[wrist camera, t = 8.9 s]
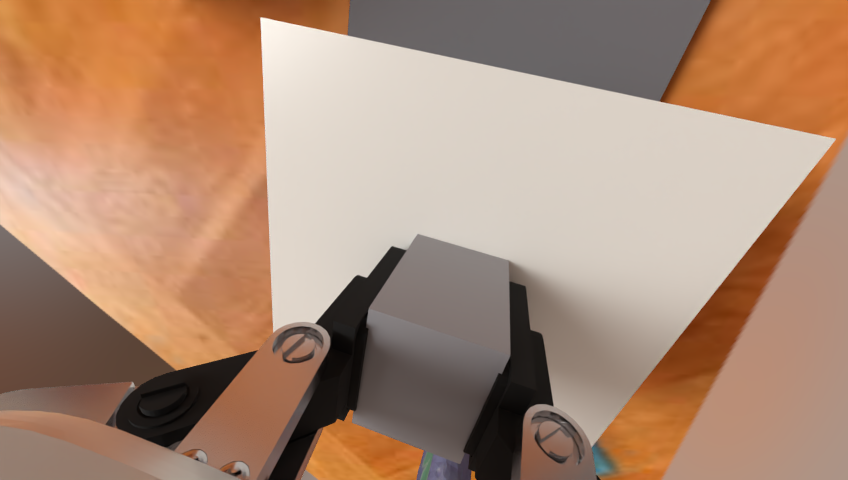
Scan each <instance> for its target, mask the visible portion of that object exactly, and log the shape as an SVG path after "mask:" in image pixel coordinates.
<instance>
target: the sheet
mask: <svg viewBox="0 0 848 480" xmlns="http://www.w3.org/2000/svg"><path fill="white" fill-rule="evenodd" d="M261 40H262V65H263V89H264V114H265V139H266V163H267V188H268V212H269V237H270V261H271V286H272V310H273V333H274V332H275V331H276V330H277V329H279V328H281V327H283V326H285V325H288V324H291V323H295V322H309V323H314V324H315V323H316V322H317V320H318V319H319V318H320V317H321V316H322V315H323V313H324V312H325V311H326V310H327V309H328V308H329V306H330V305H331V304H332V303H333V302H334V300H335V299H336V298H337V297H338V296H339V295H340V293H341V292H342V291H343V290H344V289H345V288H346V286H347V285H348V284H349V283H350V282H351V281H352V279H353V278H354V277H355V276H356V275H360V276H363V277H366V278H367V277H368V276H369V274H370V273H371V272H372V271H373V269H374V268H375V267H376V265H377V264H378V263H379V262H380V260H381V259H382V258H383V256H384V255H385V254H386V253H387V251H388V250H389V249H390V247H391V246H394V247H397V248H401V249H404V250H407V251H406V252H405V254H404V255H403V257H402V258H401V260H400V261H399V263H398V265H397V266H396V268H395V269H394V271H393V272H392V274H391V275H390V277H389V278H388V280H387V281H386V283H385V284H384V286H383V287H382V289H381V290H380V292H379V293H378V295H377V297H376V298H375V300H374V301H373V303H372V304H371V306H370V307H369V310H368V317H367V324H366V328H368V329H369V330H368V337H367V343H366V350H365V356H364V363H363V370H362V376H361V383H360V389H359V396H358V402H357V409H356V411H354V412H353V419H352V423H355V424H357V425H360V426H362V427H365V428H367V429H370V430H373V431H375V432H378V433H380V434H383V435H386V436H388V437H391V438H393V439H396V440H399V441H401V442H404V443H406V444H409V445H412V446H414V447H417V448H419V449H422V450H424V451H427V452H430V453H432V454H435V455H437V456H440V457H443V458H445V459H448V460H450V461H453V462H456V463H458V464H460V463H461V461H462V459H463V456H464V454H465V453H464V452H463V450H464V448H465V445H466V443H467V441H468V439H469V437H470V434H471V432H472V430H473V428H474V426H475V424H476V421H477V419H478V417H479V415H480V413H481V410H482V408H483V406H484V404H485V402H486V399H487V397H488V395H489V393H490V391H491V388H492V386H493V384H494V382H495V380H496V377H497V375H498V373H500V374H502V372H503V370H504V368H505V366H506V364H507V362H508V360H509V357H510V301H509V281H510V282H514V283H517V284H520V285H524V286H526V292H527V302H528V311H529V321H530V330H533V331H536V332H539V333H541V334H542V336H543V340H544V346H545V353H546V359H547V366H548V372H549V378H550V385H551V391H552V398H553V404H554V407H556V408H558V409H560V410H562V411H563V412H565V413H566V414H568V415H569V416H570V417H571V418H572V419H574V420H575V421H576V422H577V424H578V425H579V426H580V427H581V428H582V429H583V431H584V433H585V434H586V436H587V438H588V440H589V442H590V445H591V447H592V446H593V445H594V443H595V442H596V441H597V440H598V438H599V437H600V436H601V435H602V433H603V432H604V431H605V430H606V428H607V427H608V426H609V425H610V423H611V422H612V421H613V420H614V418H615V417H616V416H617V414H618V413H619V412H620V411H621V409H622V408H623V407H624V406H625V404H626V403H627V402H628V401H629V399H630V398H631V397H632V396H633V394H634V393H635V392H636V391H637V389H638V388H639V387H640V386H641V384H642V383H643V382H644V380H645V379H646V378H647V377H648V375H649V374H650V373H651V372H652V370H653V369H654V368H655V367H656V365H657V364H658V363H659V362H660V360H661V359H662V358H663V357H664V355H665V354H666V353H667V352H668V350H669V349H670V348H671V346H672V345H673V344H674V343H675V341H676V340H677V339H678V338H679V336H680V335H681V334H682V333H683V331H684V330H685V329H686V328H687V326H688V325H689V324H690V323H691V321H692V320H693V319H694V318H695V316H696V315H697V314H698V312H699V311H700V310H701V309H702V307H703V306H704V305H705V304H706V302H707V301H708V300H709V299H710V297H711V296H712V295H713V294H714V292H715V291H716V290H717V289H718V287H719V286H720V285H721V284H722V282H723V281H724V280H725V278H726V277H727V276H728V275H729V273H730V272H731V271H732V270H733V268H734V267H735V266H736V265H737V263H738V262H739V261H740V260H741V258H742V257H743V256H744V255H745V253H746V252H747V251H748V250H749V248H750V247H751V246H752V244H753V243H754V242H755V241H756V239H757V238H758V237H759V236H760V234H761V233H762V232H763V231H764V229H765V228H766V227H767V226H768V224H769V223H770V222H771V221H772V219H773V218H774V217H775V216H776V214H777V213H778V212H779V210H780V209H781V208H782V207H783V205H784V204H785V203H786V202H787V200H788V199H789V198H790V197H791V195H792V194H793V193H794V192H795V190H796V189H797V188H798V187H799V185H800V184H801V183H802V181H803V180H804V179H805V178H806V176H807V175H808V174H809V173H810V171H811V170H812V169H813V168H814V166H815V165H816V164H817V163H818V161H819V160H820V159H821V158H822V156H823V155H824V154H825V153H826V151H827V150H828V149H829V147H830V146H831V145H832V144H833V142H834V141H835V140H836V139H834V138H829V137H824V136H820V135H815V134H810V133H805V132H801V131H796V130H791V129H787V128H782V127H777V126H772V125H768V124H763V123H758V122H753V121H749V120H744V119H739V118H735V117H730V116H725V115H720V114H716V113H711V112H706V111H701V110H697V109H692V108H687V107H683V106H678V105H673V104H668V103H664V102H659V101H654V100H649V99H645V98H640V97H635V96H631V95H626V94H621V93H616V92H612V91H607V90H602V89H597V88H593V87H588V86H583V85H579V84H574V83H569V82H564V81H560V80H555V79H550V78H545V77H541V76H536V75H531V74H527V73H522V72H517V71H512V70H508V69H503V68H498V67H493V66H489V65H484V64H479V63H475V62H470V61H465V60H460V59H456V58H451V57H446V56H441V55H437V54H432V53H427V52H423V51H418V50H413V49H408V48H404V47H399V46H394V45H389V44H385V43H380V42H375V41H371V40H366V39H361V38H356V37H352V36H347V35H342V34H337V33H333V32H328V31H323V30H319V29H314V28H309V27H304V26H300V25H295V24H290V23H285V22H281V21H276V20H271V19H267V18H262V17H261Z"/></svg>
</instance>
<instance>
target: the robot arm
mask: <svg viewBox="0 0 848 480" xmlns="http://www.w3.org/2000/svg"><path fill="white" fill-rule="evenodd" d="M406 251H407V250H404V249H401V248H397V247H394V246H391V247H390V249H389V250H388V251H387V253H386V254H385V255H384V256H383V258H382V259H381V260H380V262H379V263H378V264H377V265H376V267H375V268H374V269H373V271H372V272H371V273H370V274H369V276H368V277H367V278H366V277H363V276H360V275H356V276H355V277H354V278H353V279H352V281H351V282H350V283H349V284H348V285H347V286H346V288H345V289H344V290H343V291H342V292H341V293H340V295H339V296H338V297H337V298H336V299H335V300H334V302H333V303H332V304H331V305H330V306H329V308H328V309H327V310H326V311H325V312H324V313H323V315H322V316H321V317H320V318H319V319H318V320H317V322H316V323H315V324H314V323H309V322H295V323H291V324H288V325H285V326H283V327H281V328H279V329H277V330H276V331H275V332H274V333H273V334H272V335H270V337H269V338H268V339H267V340H266V341H265V343H264V344H263V345H262V346H261V347H260V349H259V350H257V351H253V352H249V353H245V354H241V355H237V356H233V357H229V358H225V359H221V360H217V361H213V362H209V363H205V364H201V365H197V366H193V367H189V368H185V369H181V370H178V371H174V372H170V373H166V374H163V375H161V376H158V377H155V378H153V379H151V380H149V381H147V382H146V383H144V384H142V385H140V386H139V387H135V386H134V384H133V382H123V383H109V384H94V385H79V386H66V387H50V388H37V389H23V390H17V391H12V392H6V393H4V394H1V395H0V480H301V477H302V475H303V473H304V471H305V469H306V466H307V464H308V462H309V460H310V457H311V455H312V453H313V451H314V448H315V446H316V444H317V442H318V439H319V437H320V435H321V433H322V430H323V427H325V426H328V425H330V424H332V423H335V422H336V420H337V419H340V420H342V421H344V420H345V418H346V416H347V414H348V412H349V410H353V411H356V409H357V402H358V396H359V389H360V383H361V376H362V370H363V363H364V356H365V350H366V343H367V337H368V330H369V329H368V328H366V324H367V317H368V310H369V307H370V306H371V304H372V303H373V301H374V300H375V298H376V297H377V295H378V293H379V292H380V290H381V289H382V287H383V286H384V284H385V283H386V281H387V280H388V278H389V277H390V275H391V274H392V272H393V271H394V269H395V268H396V266H397V265H398V263H399V261H400V260H401V258H402V257H403V255H404V254H405V252H406ZM509 301H510V357H509V360H508V362H507V364H506V366H505V368H504V370H503V372H502V374H500V373H498V375H497V377H496V380H495V382H494V384H493V386H492V388H491V391H490V393H489V395H488V397H487V399H486V402H485V404H484V406H483V408H482V410H481V413H480V415H479V417H478V419H477V421H476V424H475V426H474V428H473V430H472V432H471V434H470V437H469V439H468V441H467V443H466V445H465V448H464V450H463V452H464V453H466V454H469V465H468V469H469V470H472V471H474V472H475V478H476V479H477V480H600V479H599V477H598V476H597V475H596V471H595V464H594V458H593V452H592V448H591V445H590V442H589V440H588V438H587V436H586V434H585V433H584V431H583V429H582V428H581V427H580V426H579V425H578V424H577V422H576V421H575V420H574V419H572V418H571V417H570V416H569V415H568V414H566V413H565V412H563V411H562V410H560V409H558V408H556V407H554V404H553V398H552V391H551V385H550V378H549V372H548V366H547V359H546V353H545V346H544V340H543V336H542V334H541V333H539V332H536V331H533V330H530V321H529V311H528V302H527V292H526V286H524V285H520V284H517V283H514V282H510V281H509Z"/></svg>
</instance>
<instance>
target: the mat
mask: <svg viewBox="0 0 848 480" xmlns="http://www.w3.org/2000/svg"><path fill="white" fill-rule="evenodd" d="M710 1H711V0H350V10H349V24H348V36H352V37H356V38H361V39H366V40H371V41H375V42H380V43H385V44H389V45H394V46H399V47H404V48H408V49H413V50H418V51H423V52H427V53H432V54H437V55H441V56H446V57H451V58H456V59H460V60H465V61H470V62H475V63H479V64H484V65H489V66H493V67H498V68H503V69H508V70H512V71H517V72H522V73H527V74H531V75H536V76H541V77H545V78H550V79H555V80H560V81H564V82H569V83H574V84H579V85H583V86H588V87H593V88H597V89H602V90H607V91H612V92H616V93H621V94H626V95H631V96H635V97H640V98H645V99H649V100H654V101H660V99H661V97H662V95H663V93H664V91H665V89H666V87H667V85H668V83H669V82H670V80H671V78H672V76H673V74H674V72H675V70H676V68H677V66H678V64H679V62H680V60H681V58H682V56H683V54H684V52H685V50H686V48H687V46H688V44H689V42H690V40H691V38H692V36H693V34H694V32H695V30H696V28H697V26H698V24H699V22H700V20H701V18H702V16H703V15H704V13H705V11H706V9H707V7H708V5H709V3H710Z"/></svg>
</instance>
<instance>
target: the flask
mask: <svg viewBox="0 0 848 480" xmlns="http://www.w3.org/2000/svg"><path fill="white" fill-rule="evenodd" d="M468 465H469V454H466V453H465V454H464V456H463V459H462V461H461V463H460V464H458V463H456V462H453V461H450V460H448V459H445V458H443V457H440V456H437V455H435V454H432V453H430V452H427V451H424V453H423V456H422V460H421V464H420V467H419V470H418V475H417V480H471V470H469V469H468Z"/></svg>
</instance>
